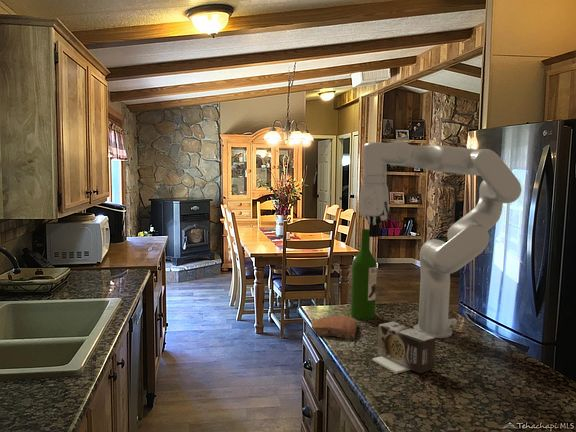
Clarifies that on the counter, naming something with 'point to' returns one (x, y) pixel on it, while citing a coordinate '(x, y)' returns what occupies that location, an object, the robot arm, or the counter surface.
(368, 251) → the wine bottle
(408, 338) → the coffee box
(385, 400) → the counter surface
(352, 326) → the ceramic shard
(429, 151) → the robot arm
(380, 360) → the white flat panel
